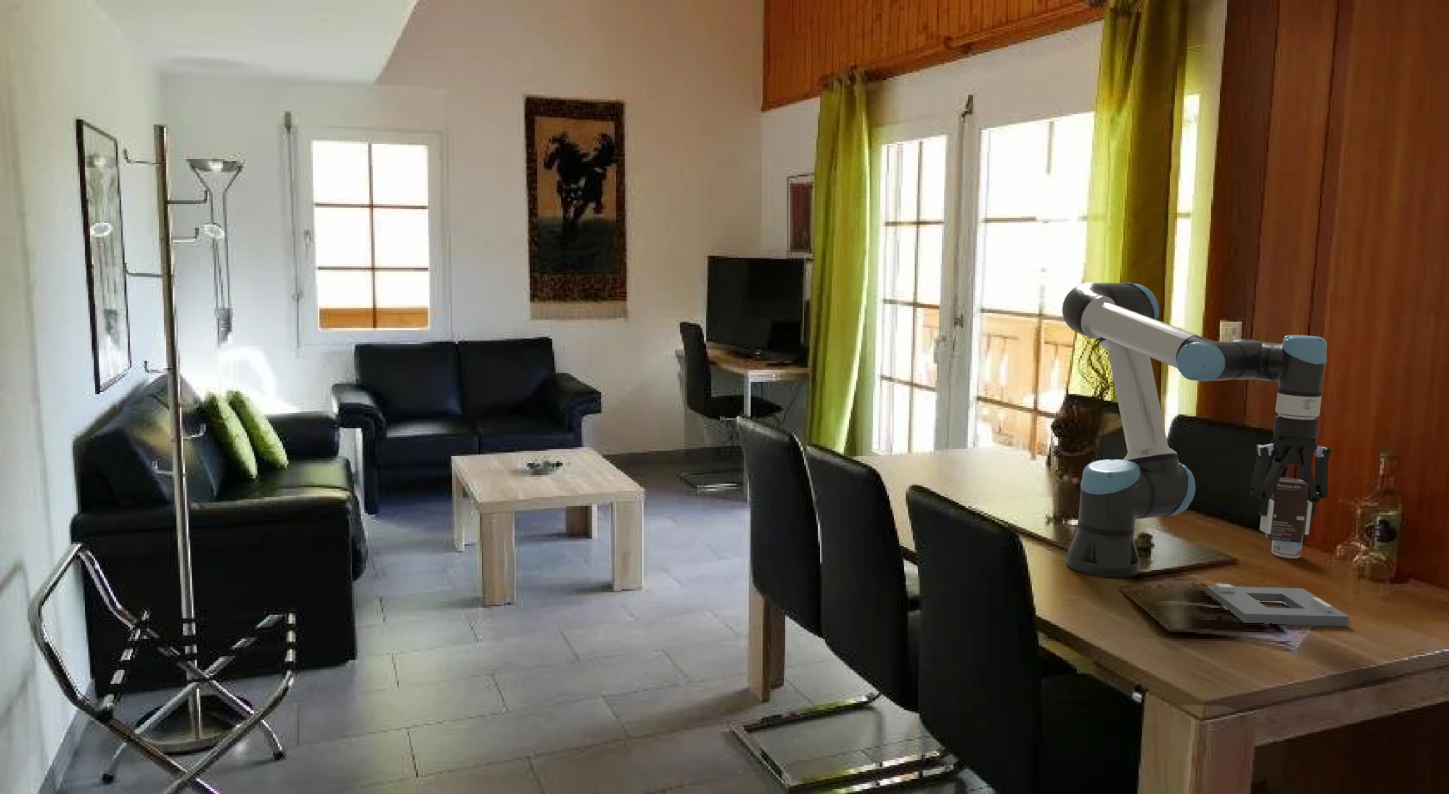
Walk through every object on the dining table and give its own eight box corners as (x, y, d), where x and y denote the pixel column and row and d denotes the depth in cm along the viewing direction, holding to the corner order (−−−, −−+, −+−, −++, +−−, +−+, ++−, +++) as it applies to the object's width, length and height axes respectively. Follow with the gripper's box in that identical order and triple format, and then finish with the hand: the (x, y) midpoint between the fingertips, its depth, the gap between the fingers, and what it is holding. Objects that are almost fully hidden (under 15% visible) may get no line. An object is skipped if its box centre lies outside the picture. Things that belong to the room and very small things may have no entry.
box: (1268, 541, 206) (1275, 480, 204) (1264, 535, 210) (1270, 475, 209) (1303, 544, 204) (1310, 483, 203) (1298, 538, 209) (1305, 478, 207)
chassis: (1244, 623, 202) (1245, 608, 201) (1205, 595, 217) (1206, 581, 217) (1348, 626, 202) (1350, 611, 202) (1301, 597, 218) (1303, 583, 217)
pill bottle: (1304, 560, 244) (1309, 513, 242) (1275, 558, 245) (1281, 510, 244) (1295, 552, 250) (1301, 506, 248) (1267, 550, 251) (1273, 504, 250)
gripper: (1256, 418, 200) (1243, 536, 203) (1359, 420, 200) (1345, 539, 204) (1236, 411, 207) (1224, 525, 211) (1336, 414, 208) (1322, 528, 211)
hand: (1283, 532), depth 207 cm, fingers closed on box, 7 cm apart
